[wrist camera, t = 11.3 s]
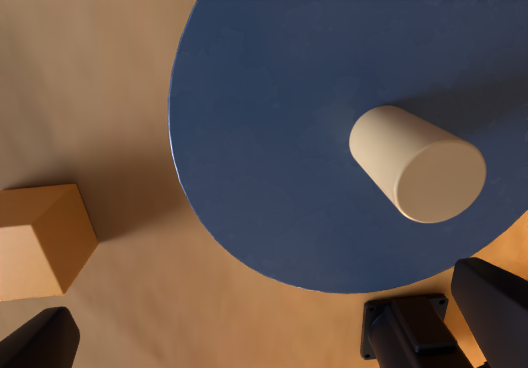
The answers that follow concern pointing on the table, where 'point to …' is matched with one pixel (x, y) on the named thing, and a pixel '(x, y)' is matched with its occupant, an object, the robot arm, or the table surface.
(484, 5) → the tin lid
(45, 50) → the table surface
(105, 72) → the table surface
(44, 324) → the robot arm
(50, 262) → the block
